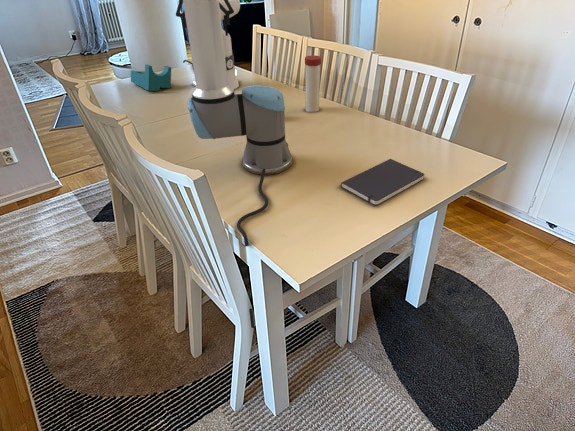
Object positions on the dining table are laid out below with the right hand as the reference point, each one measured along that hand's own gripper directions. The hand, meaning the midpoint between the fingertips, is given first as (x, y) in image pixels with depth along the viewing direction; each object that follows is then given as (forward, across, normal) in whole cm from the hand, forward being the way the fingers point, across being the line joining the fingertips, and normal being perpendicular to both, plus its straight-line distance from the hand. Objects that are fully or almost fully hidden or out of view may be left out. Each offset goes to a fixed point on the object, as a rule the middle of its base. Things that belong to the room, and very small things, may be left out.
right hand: (208, 36), depth 147 cm
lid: (+8, -37, +9) cm, 39 cm away
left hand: (-18, -25, -6) cm, 31 cm away
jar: (+28, -37, +9) cm, 47 cm away
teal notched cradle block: (+28, +29, -39) cm, 56 cm away
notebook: (+28, -44, +69) cm, 86 cm away
